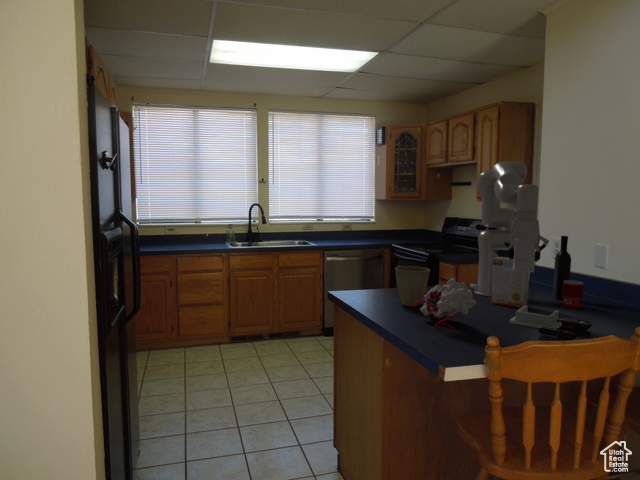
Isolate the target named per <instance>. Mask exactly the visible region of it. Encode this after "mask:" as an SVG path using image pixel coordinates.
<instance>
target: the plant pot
mask: <svg viewBox="0 0 640 480" xmlns="http://www.w3.org/2000/svg"><path fill="white" fill-rule="evenodd" d="M394 271H395V279H396V285H397V289H398V294H399V298H400V301H401V304H402V305H404V306H407V307H419V306H420V305H421V302H422V301H419V302H417V301H418V300H420V299H422V298H424V295H425V292H426V291H425V290H424V289H426V290H427V285H428V281H429V278H430V274H431V273H430V272H431V269H430V268H428V267H427V268H426V267H422V266H415V265H414V266H413V265H401V266H400V265H399V266H396V267H395V269H394ZM424 291H425V292H424ZM422 292H423V293H422ZM421 293H422V294H421ZM417 298H418V299H417ZM416 300H417V301H416ZM415 301H416V302H417V303H416V302H415ZM414 302H415V303H416V304H415V306H413V304H414Z"/></svg>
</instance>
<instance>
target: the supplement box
mask: <svg viewBox="0 0 640 480" xmlns="http://www.w3.org/2000/svg"><path fill="white" fill-rule="evenodd" d="M535 246H536V245H535ZM535 246H532V245H531V241H530V240H523V239H515V245H514V259H513V270H514V271H518V272H529V273H535V263H536V262H535V252H536V249H535Z"/></svg>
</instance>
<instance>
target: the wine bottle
mask: <svg viewBox="0 0 640 480" xmlns="http://www.w3.org/2000/svg"><path fill="white" fill-rule="evenodd" d="M568 242H569V236H568V235H560V249H559V250H560V251H558V252H557V253H556V254H555V256H554V267H553V268H554V269H553V283H552V284H553V285H552V298H553V299H555V300H558V301H562V291H563V281H565V280H571V268H572V256H571V254H570V253H569V252H568Z"/></svg>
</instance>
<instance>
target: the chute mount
mask: <svg viewBox="0 0 640 480" xmlns="http://www.w3.org/2000/svg"><path fill="white" fill-rule="evenodd" d="M528 307H529V306H528V305H527V306H523V307H522V308H518V309H517V310H516V311H515V315H514V316H513V317H511V318H510V319H509V324H513V325H518V326H523V327H530V328H535V329H540V328H541V327H549V328H559V329H560V328H561V327H562V326H563V325H562V323H561V322H557V320H558V319H560V318H559V315H560V310H557V309H556V310H554V311H552V313H551V314H549V315H548V314H547V315H545V314H539V313H533V312H528V311H529V310H528Z"/></svg>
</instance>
